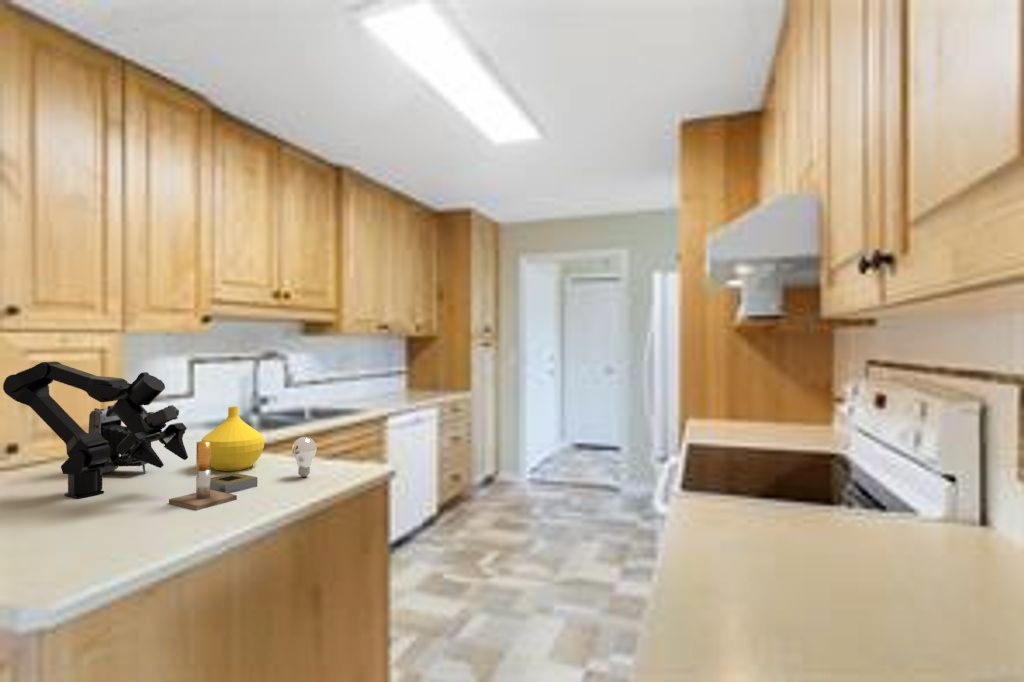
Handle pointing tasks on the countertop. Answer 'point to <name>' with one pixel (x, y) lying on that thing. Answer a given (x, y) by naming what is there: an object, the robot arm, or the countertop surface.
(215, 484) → the chuck block
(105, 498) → the countertop surface
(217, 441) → the vase
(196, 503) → the walnut pad
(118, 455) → the vintage camera
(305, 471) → the light bulb
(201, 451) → the orange and silver cylinder
